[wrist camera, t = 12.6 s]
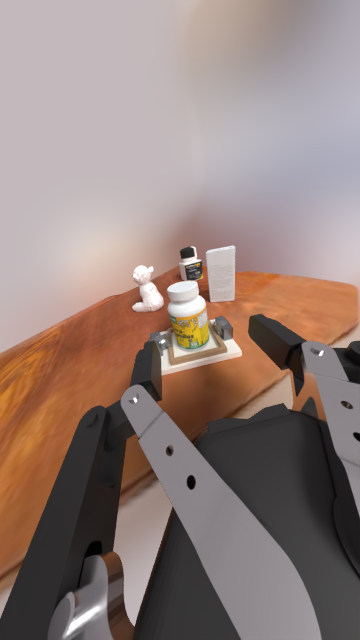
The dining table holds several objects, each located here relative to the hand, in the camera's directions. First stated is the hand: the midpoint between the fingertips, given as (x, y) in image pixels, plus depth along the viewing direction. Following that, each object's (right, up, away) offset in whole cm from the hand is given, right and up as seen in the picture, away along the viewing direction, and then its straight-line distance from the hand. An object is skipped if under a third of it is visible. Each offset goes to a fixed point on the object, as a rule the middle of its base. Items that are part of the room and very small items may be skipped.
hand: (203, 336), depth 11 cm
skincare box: (+9, +7, +24) cm, 27 cm away
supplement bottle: (0, -2, +11) cm, 11 cm away
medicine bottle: (+3, +19, +44) cm, 48 cm away
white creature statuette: (-10, +5, +28) cm, 30 cm away
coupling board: (0, -3, +12) cm, 12 cm away
